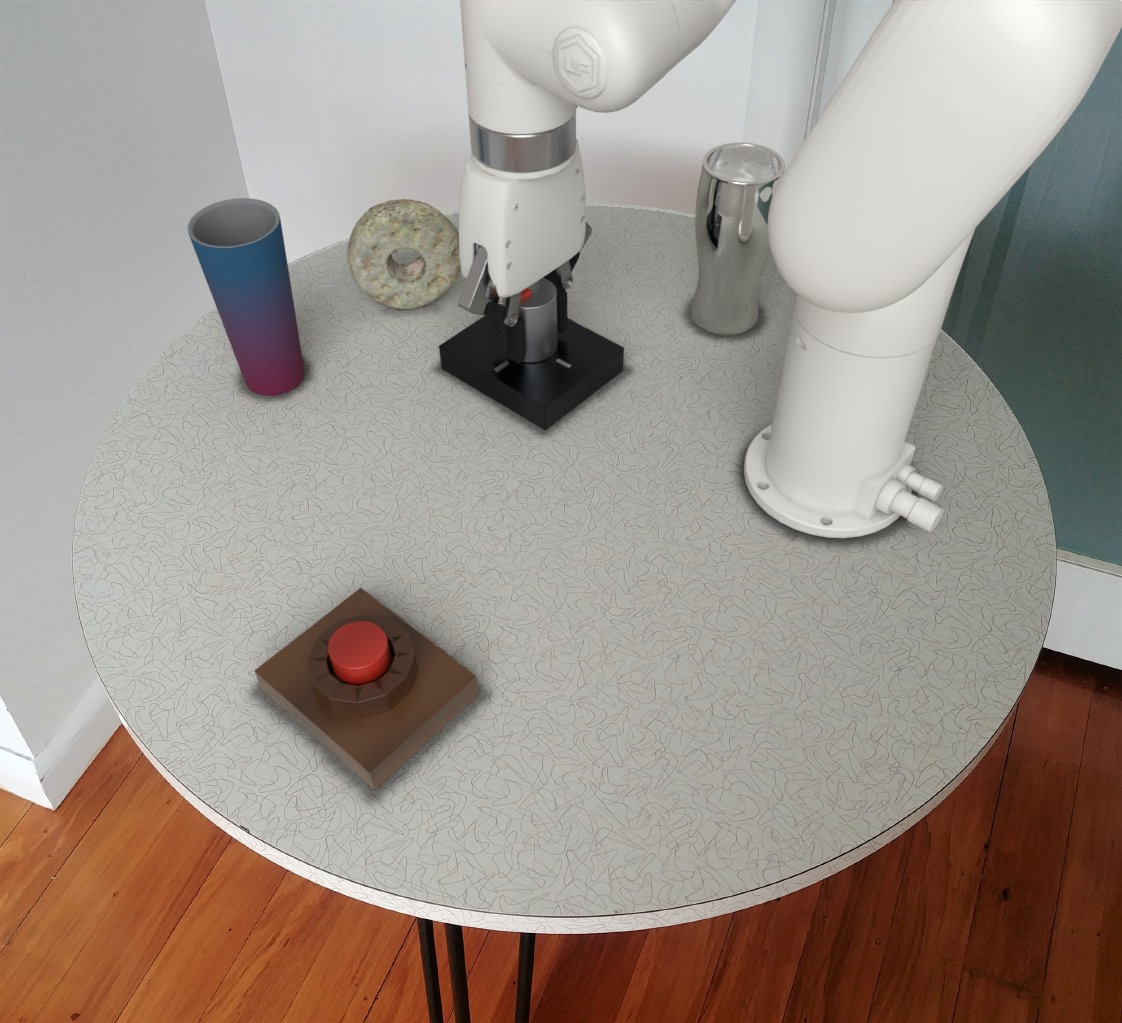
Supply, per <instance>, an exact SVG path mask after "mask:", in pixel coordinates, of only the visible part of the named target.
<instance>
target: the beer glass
mask: <svg viewBox="0 0 1122 1023" xmlns="http://www.w3.org/2000/svg"><path fill="white" fill-rule="evenodd" d="M785 170H786V162H785V160H784V158H783V156H782V155H781V154H779V153H778V152H777V151H776V150H773V149H772V148H769V147H767V146H766V145H761V144H757V143H753V142H738V141H737V142H728V143H722V144H720V145H719V144H718V145H717V146H714V147H712V148H711V149H709V150H708V151H706V153H705V154H704V156H703V159H702V167H701V171H700V176H699V182H698V186H697V194H696V200H695V201H696V203H695V212H694V213H695V215H694V216H695V217H694V229H695V230H694V232H695V246H696V254H697V265H698V279H697V280H698V281H697V287H696V291H695V293H694V297H693V300H692V302H691V307H690V317H691V320H692V321H693V322H694V323H695V325H696V326H698V327H699V328H700V329H702V330H703V331H706V332H708V333H711V334H714V335H719V336H736V335H740V334H743V333H746V332H748V331H750V330H751V329H752V328H754V327H755V326H756V324H757V322H758V320H759V314H760V312H759V311H760V310H759V295H758V294H759V286H760V282H761V277H762V274H763V271H764V268H765V265H766V263H767V260H768V257H769V255H770V253H771V250H770V245H769V239H768V214H769V207H770V203H771V199H772V196H773V194H774V191H775V188H776V186H777V184H778V182H779V180H780V178H781V177H782V175H783V173H784V172H785Z"/></svg>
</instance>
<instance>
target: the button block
mask: <svg viewBox="0 0 1122 1023" xmlns="http://www.w3.org/2000/svg"><path fill="white" fill-rule="evenodd" d="M356 621H367V622H371V623H374V624H376V625H378V626H379V627H380V628H381V629H382V630H383V631H384V632H385V634H386V637H387V641H388V646H389V650H390V655H391V659H390V664H389V666H388V668H387V670H386V671H385V672H384V674H383V675H382V676H380V677H379V678H378V679H376V680H374V681H372V682H370V683H366V684H350V683H347V682H345V681H343V680H341V679H340V678H339V677H338V676H337V675H336V674H335V672H334V670H333V666H332V663H331V660H330V656H329V653H328V645H329V641H330V639H331V637H332V635H333V634H334V633H335V632H336V631H337V630H338V629H339V628H341V627H342V626H344V625H346V624H348V623H351V622H356ZM254 674H255V676H256V679H257V682H258V684H259V687H260V689H261V691H262V692H263V693H264V694H266V695H267V696H268V697H269V698H270V699H271V701H272V700H273V702H274V703H275V704H277V705H278V706H279V707H280V708H281V709H283V710H284V712H286V713H287V714H288V715H289V716H290V717H291V718H292V719H294V720H295V721H296V722H297V723H298V724H299V725H301V727H302V728H303V729H305V730H306V731H307V732H308V733H309V734H310V735H311V736H313V737H314V738H315V739H316V740H317V741H318V742H319V743H320V744H322V745H323V746H324V747H325V748H326V749H327V750H328V751H329V752H331V753H332V754H333V755H334V756H335V757H336V758H337V759H338V760H340V761H341V762H342V763H343V765H345V766H346V767H347V768H349V769H350V770H351V771H352V772H353V773H354V774H356V776H357V777H358V778H360V779H361V780H362V781H363V782H364V783H366V784H367V786H369V787H370V788H371V789H372V790H374V791H376V790H377V789H379V787H381V786H382V785H383V784H384V783H385V782H386V781H387V780H388V779H389V778H390V777H391V776H392V775H393V774H395V773H396V772H397V771H398V770H399V769H400V768H401V767H402V766H403V765H405V763H407V761H409V760H410V759H411V758H412V757H413V756H414V755H415V754H416V753H418V751H420V750H421V749H422V748H423V747H424V746H425V745H426V744H428V743H429V741H430V740H432V739H433V738H434V737H435V736H436V735H437V734H438V733H439V732H440V731H441V730H443V728H445V727H446V726H447V725H448V724H449V723H450V722H451V721H452V720H454V719H455V718H456V717H457V716H458V715H459V714H460V713H461V712H462V711H463V710H464V709H466V708H467V707H468V706H469V705H470V704H471V703H472V702H473V701H474V700H475V699H477V697H479V687H478V679H477V678H478V677H477V675H476V674H474V673H473V672H472V671H471V670H469V669H467V667H465V666H464V665H462V664H461V663H460V662H458V661H457V659H455V658H454V657H452V656H451V655H449V654H448V653H447V652H446V651H444V650H443V649H442V648H440V647H439V646H438V645H437V644H435V643H434V642H433V641H431V640H430V639H429V638H427V637H426V636H424V635H423V634H422V633H421V632H420V631H418V630H417V629H416V628H414V627H413V626H412V625H411V624H409V623H408V622H407V621H406V620H404V619H402V618H401V617H400V616H399V615H397V613H395V612H393V611H392V610H391V609H390V608H388V607H387V606H386V605H384V604H383V603H382V602H381V601H379V600H378V599H377V598H376V597H374V596H373V595H371V594H370V593H369V592H367V591H366V590H365V589H364V588H362V587H360V588H358V589H357V590H355V591H354V592H353V593H351V595H349V596H348V597H347V598H345V599H343V601H342V602H340V603H339V604H337V605H336V606H335V607H334V608H332V610H330V611H329V612H327V613H326V614H324V616H322V617H321V618H320V619H318V620H317V621H316V622H315V623H313V624H312V625H311V626H310V627H308V628H307V629H305V631H303V632H302V633H301V634H299V635H298V636H297V637H295V638H294V639H293V640H292V641H290V642H289V643H288V644H287V645H285V646H284V647H282V649H280V650H279V651H277V652H276V653H275V654H274V655H273V656H271V657H270V658H268V659H267V660H266V661H265V662H263V663H262V664H261V665H260V666H258V667H257V668H256V669H255V670H254Z"/></svg>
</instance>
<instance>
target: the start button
mask: <svg viewBox="0 0 1122 1023" xmlns="http://www.w3.org/2000/svg"><path fill="white" fill-rule="evenodd" d="M328 653H329V656H330V660H331V663H332V666H333V670H334V672H335V674H336V675H337V676H338V677H339V678H340V679H341V680H343V681H345V682H347V683H350V684H366V683H370V682H372V681H374V680H376V679H378V678H379V677H380V676H382V675H383V674H384V672H385V671H386V670H387V668H388V666H389V664H390V659H391V655H390V650H389V646H388V641H387V637H386V634H385V632H384V631H383V630H382V629H381V628H380V627H379V626H378V625H376V624H374V623H371V622H367V621H356V622H351V623H348V624H346V625H344V626H342V627H341V628H339V629H338V630H337V631H336V632H335V633H334V634H333V635H332V637H331V639H330V641H329V645H328Z"/></svg>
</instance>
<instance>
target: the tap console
mask: <svg viewBox="0 0 1122 1023" xmlns="http://www.w3.org/2000/svg"><path fill="white" fill-rule="evenodd" d="M500 304H501V305H503V304H502V303H500ZM438 350H439V359H440V367H441V370H443V371H444V372H446V373H448V374H449V375H451V376H453V377H455V378H456V379H457V380H459V381H461V382H463V383H464V384H466V385H468V386H470V387H471V388H472V389H474V390H476V391H478V392H480V393H482V394H483V395H484V396H486V397H488V398H490V399H491V400H493V401H494V402H497V403H499V404H500V405H502V406H503V407H505V408H507V409H508V410H510V411H512V412H513V413H515V414H517V415H519V416H520V417H521V418H523V419H525V420H526V421H529V423H532V424H533V425H535V426H537V427H538V428H540V429H541V430H544V431H547V430H548V429H550V428H551V427H552V426H553V425H555V424H556V423H557V422H559V421H560V420H562V419H563V418H564V417H565V416H566V415H567V414H569V413H570V412H572V411H573V410H575V408H577V407H578V406H579V405H581V404H582V403H583V402H584V401H586V400H587V399H588V398H590V397H591V396H592V395H593V394H595V393H596V392H597V391H598V390H600V389H601V388H602V387H605V385H606V384H608V383H609V382H610V381H612V380H613V379H614V378H615V377H617V376H618V375H620V374H621V373H622V372H623V371H624V361H625V359H624V358H625V347H624V346H622V345H620V344H619V343H617V342H615V341H613V340H611V339H609V338H607V337H606V336H603V335H601V334H599V333H598V332H596V331H593V330H591V329H590V328H588V327H586V326H583V325H582V324H580V323H579V322H576V321H574V320H572V319H571V318H569V317H568V328H567V330H566V331H564V332H563V333H559V332H557V350H556V352H555V353H554V354H553V355H552V356H551V357H549V358H548V359H546V360H543V361H539V362H521V363H517V362H515V361H513V360H511V359H510V358H508V357H506V356H504V355H503V354H501V353H499V352H497V351H496V350H495V349H494V348H493V346H492V333H491V319H490V317H489V316H486V315H482V317H480V318H479V319H477V320H476V321H474V322H473V323H471V324H470V325H468V326H466V327H465V328H463V329H461V331H459V332H458V333H456V334H454V335H453V336H451V337H450V338H448V339H447V340H445V341H444V342H442V343H441V344H439V345H438Z"/></svg>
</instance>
